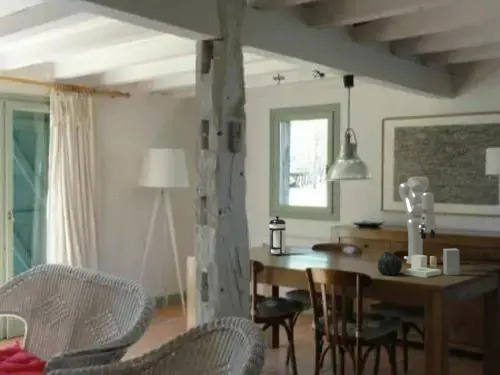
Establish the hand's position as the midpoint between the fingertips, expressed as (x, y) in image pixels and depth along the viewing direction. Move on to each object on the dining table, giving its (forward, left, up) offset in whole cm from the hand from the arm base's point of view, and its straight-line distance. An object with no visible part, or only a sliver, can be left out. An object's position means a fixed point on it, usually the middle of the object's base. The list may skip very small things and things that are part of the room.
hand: (428, 238), depth 409 cm
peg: (+9, -7, -20) cm, 23 cm away
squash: (-5, -33, -21) cm, 40 cm away
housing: (-2, -6, -20) cm, 21 cm away
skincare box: (+21, -6, -21) cm, 30 cm away
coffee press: (-119, -20, -20) cm, 123 cm away
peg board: (+9, -19, -20) cm, 29 cm away
